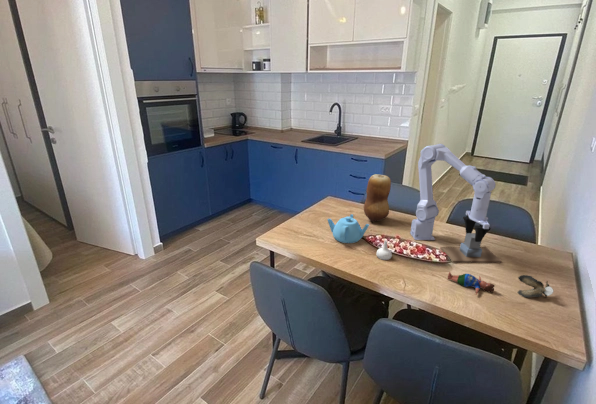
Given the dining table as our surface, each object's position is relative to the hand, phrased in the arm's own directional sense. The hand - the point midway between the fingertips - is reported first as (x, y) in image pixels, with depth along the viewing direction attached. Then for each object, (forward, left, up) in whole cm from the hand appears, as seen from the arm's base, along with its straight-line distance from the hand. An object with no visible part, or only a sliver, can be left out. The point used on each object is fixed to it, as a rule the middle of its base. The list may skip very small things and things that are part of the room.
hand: (473, 237), depth 133 cm
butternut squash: (-32, +38, -9) cm, 50 cm away
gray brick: (0, 0, -4) cm, 4 cm away
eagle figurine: (+9, -27, -9) cm, 30 cm away
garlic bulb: (-37, -1, -9) cm, 38 cm away
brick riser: (0, 0, -9) cm, 9 cm away
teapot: (-50, +17, -9) cm, 53 cm away
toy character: (-11, -22, -9) cm, 26 cm away
